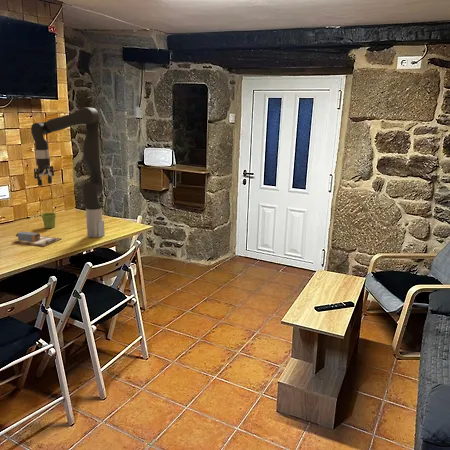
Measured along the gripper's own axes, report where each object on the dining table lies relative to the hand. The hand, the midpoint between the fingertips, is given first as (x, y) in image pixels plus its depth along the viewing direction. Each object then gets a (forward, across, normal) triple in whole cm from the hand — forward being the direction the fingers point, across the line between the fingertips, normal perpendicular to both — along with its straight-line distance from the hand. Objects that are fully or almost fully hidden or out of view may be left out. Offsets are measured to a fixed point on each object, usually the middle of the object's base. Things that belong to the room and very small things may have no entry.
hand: (45, 184), depth 253 cm
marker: (+29, -19, 0) cm, 35 cm away
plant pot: (+30, +10, +8) cm, 33 cm away
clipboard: (+30, -17, -6) cm, 35 cm away
